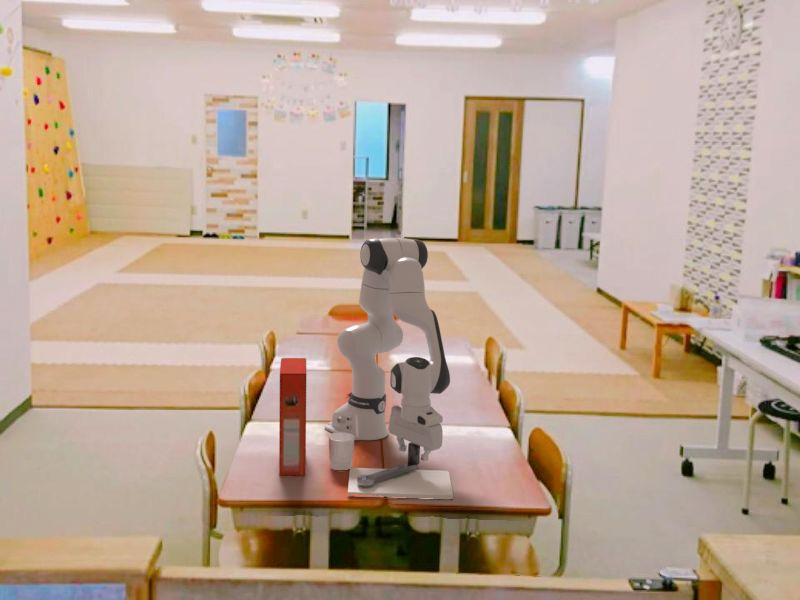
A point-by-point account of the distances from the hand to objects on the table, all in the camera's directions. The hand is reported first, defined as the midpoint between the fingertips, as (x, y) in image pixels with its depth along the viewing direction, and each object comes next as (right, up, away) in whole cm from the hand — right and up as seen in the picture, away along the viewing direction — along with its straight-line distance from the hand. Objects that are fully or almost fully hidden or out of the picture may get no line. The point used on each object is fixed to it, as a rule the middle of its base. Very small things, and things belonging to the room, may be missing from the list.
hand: (413, 455), depth 263 cm
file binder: (-37, -4, +5) cm, 38 cm away
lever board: (-4, -8, -7) cm, 11 cm away
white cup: (-22, -5, +5) cm, 23 cm away
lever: (-7, -5, -6) cm, 11 cm away
